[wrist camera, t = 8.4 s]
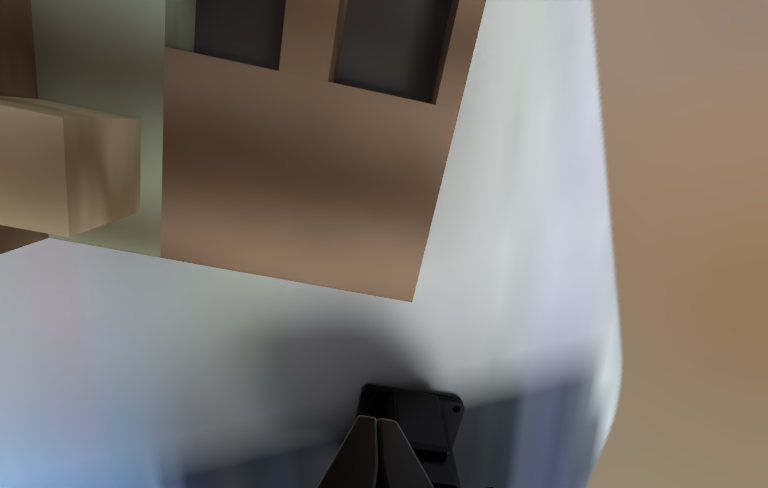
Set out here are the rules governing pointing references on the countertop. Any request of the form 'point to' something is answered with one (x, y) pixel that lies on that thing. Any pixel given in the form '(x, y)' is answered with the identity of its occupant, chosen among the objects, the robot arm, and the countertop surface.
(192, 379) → the countertop surface
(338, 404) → the countertop surface
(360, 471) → the robot arm
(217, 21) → the trap box
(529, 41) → the countertop surface
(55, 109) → the maple block
